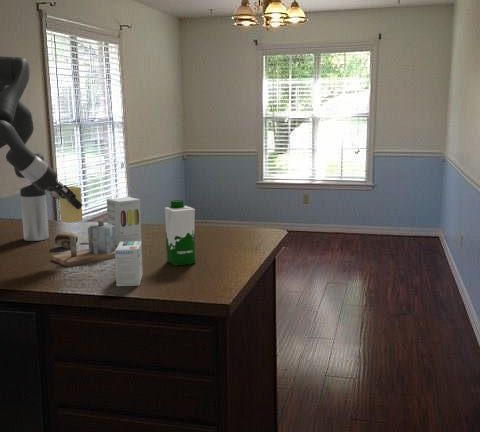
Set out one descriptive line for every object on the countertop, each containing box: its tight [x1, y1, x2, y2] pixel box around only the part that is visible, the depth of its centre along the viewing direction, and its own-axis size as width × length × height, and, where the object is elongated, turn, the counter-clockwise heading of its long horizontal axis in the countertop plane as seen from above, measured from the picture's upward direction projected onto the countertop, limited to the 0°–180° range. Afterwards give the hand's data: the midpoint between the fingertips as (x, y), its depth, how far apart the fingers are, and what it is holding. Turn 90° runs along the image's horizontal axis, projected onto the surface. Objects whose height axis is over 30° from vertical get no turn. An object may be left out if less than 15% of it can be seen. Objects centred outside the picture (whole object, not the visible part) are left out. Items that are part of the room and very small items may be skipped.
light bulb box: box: [114, 240, 143, 287], centre depth 164 cm, size 11×7×11 cm, turn 5°
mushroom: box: [54, 231, 79, 249], centre depth 207 cm, size 8×8×6 cm
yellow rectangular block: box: [58, 185, 84, 224], centre depth 185 cm, size 5×5×11 cm
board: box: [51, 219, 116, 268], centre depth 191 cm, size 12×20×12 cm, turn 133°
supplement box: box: [106, 196, 142, 247], centre depth 212 cm, size 10×9×17 cm
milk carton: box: [164, 199, 196, 267], centre depth 183 cm, size 9×9×20 cm
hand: (75, 206), depth 186 cm, fingers closed on yellow rectangular block, 5 cm apart
